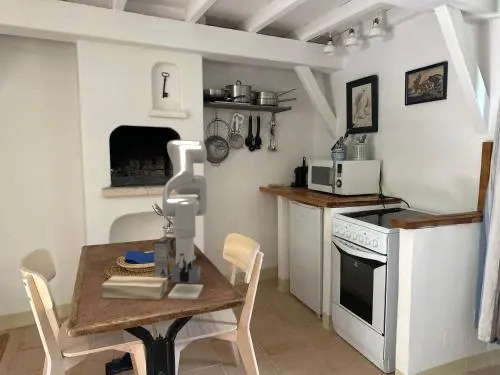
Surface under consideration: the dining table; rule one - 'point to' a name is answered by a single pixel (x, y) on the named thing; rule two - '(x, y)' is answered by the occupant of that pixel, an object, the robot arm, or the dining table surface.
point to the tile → (186, 291)
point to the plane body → (135, 287)
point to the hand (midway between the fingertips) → (186, 278)
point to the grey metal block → (192, 273)
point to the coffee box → (164, 256)
